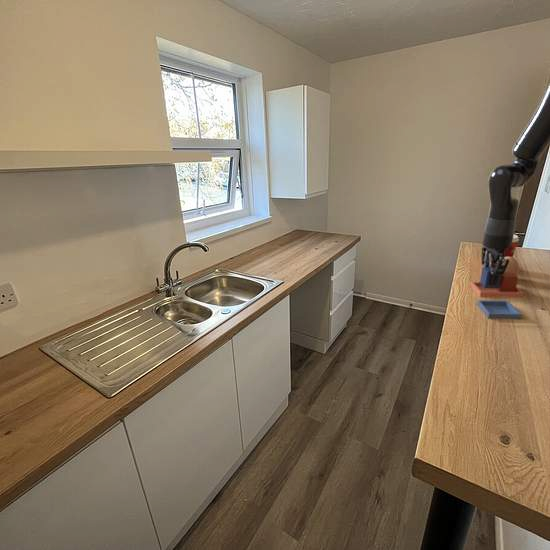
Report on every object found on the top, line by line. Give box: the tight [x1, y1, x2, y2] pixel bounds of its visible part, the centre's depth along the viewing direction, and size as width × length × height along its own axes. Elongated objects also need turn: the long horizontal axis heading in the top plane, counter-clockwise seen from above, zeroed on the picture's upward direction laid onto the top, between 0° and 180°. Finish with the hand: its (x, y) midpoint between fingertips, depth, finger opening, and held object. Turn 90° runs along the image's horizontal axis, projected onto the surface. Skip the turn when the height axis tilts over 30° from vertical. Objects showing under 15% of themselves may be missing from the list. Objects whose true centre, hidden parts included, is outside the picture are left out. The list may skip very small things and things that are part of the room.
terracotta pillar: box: [495, 272, 519, 292], centre depth 99 cm, size 4×4×6 cm
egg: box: [504, 256, 520, 276], centre depth 107 cm, size 7×7×9 cm
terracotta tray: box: [470, 281, 524, 298], centre depth 101 cm, size 12×8×2 cm
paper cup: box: [494, 234, 520, 265], centre depth 114 cm, size 8×8×14 cm
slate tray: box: [476, 299, 523, 320], centre depth 89 cm, size 8×8×2 cm
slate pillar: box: [479, 266, 501, 288], centre depth 100 cm, size 4×4×6 cm
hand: (489, 281), depth 100 cm, fingers closed on slate pillar, 4 cm apart
